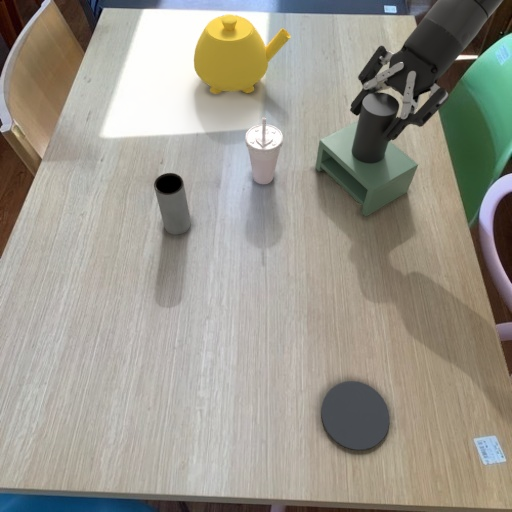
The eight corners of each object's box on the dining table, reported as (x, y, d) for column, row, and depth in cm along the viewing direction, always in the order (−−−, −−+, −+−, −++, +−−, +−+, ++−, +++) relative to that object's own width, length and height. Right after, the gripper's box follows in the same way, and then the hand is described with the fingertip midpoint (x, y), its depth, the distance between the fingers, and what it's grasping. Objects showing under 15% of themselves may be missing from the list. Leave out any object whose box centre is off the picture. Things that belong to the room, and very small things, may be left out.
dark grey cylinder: (390, 150, 81) (406, 102, 73) (372, 168, 79) (386, 121, 71) (363, 135, 83) (375, 87, 75) (345, 153, 81) (355, 105, 73)
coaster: (401, 411, 64) (402, 410, 64) (364, 465, 60) (365, 465, 60) (346, 369, 67) (346, 368, 67) (307, 418, 63) (307, 417, 63)
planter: (173, 239, 80) (163, 199, 71) (159, 222, 82) (148, 180, 73) (196, 226, 81) (189, 185, 72) (182, 210, 83) (173, 168, 74)
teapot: (285, 56, 108) (288, -5, 97) (290, 101, 99) (295, 40, 88) (196, 58, 107) (190, -3, 96) (194, 103, 99) (187, 42, 87)
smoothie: (243, 187, 86) (241, 127, 74) (248, 162, 89) (247, 101, 78) (278, 191, 85) (282, 131, 74) (282, 165, 89) (286, 104, 77)
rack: (407, 192, 86) (418, 164, 80) (365, 216, 82) (374, 189, 77) (355, 146, 92) (362, 118, 86) (315, 168, 89) (319, 139, 83)
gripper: (488, 67, 69) (408, 158, 75) (417, 21, 76) (348, 108, 82) (477, 45, 63) (391, 146, 69) (401, -2, 70) (328, 94, 76)
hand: (368, 125), depth 75 cm, fingers open, 7 cm apart
